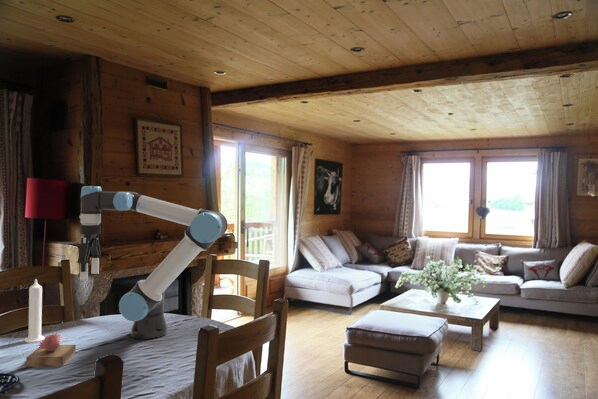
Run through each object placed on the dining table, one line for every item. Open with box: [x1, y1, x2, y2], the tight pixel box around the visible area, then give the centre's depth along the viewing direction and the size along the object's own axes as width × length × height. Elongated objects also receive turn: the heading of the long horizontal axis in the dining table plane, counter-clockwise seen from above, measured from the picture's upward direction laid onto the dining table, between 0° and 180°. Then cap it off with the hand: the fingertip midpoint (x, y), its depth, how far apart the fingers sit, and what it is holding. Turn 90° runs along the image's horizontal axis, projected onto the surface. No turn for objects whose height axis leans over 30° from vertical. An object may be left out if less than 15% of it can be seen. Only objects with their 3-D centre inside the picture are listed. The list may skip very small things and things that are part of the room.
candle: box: [24, 278, 46, 344], centre depth 182 cm, size 7×7×25 cm
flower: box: [38, 332, 62, 351], centre depth 161 cm, size 8×8×6 cm
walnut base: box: [25, 344, 77, 368], centre depth 161 cm, size 12×12×4 cm
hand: (89, 276), depth 180 cm, fingers open, 13 cm apart
